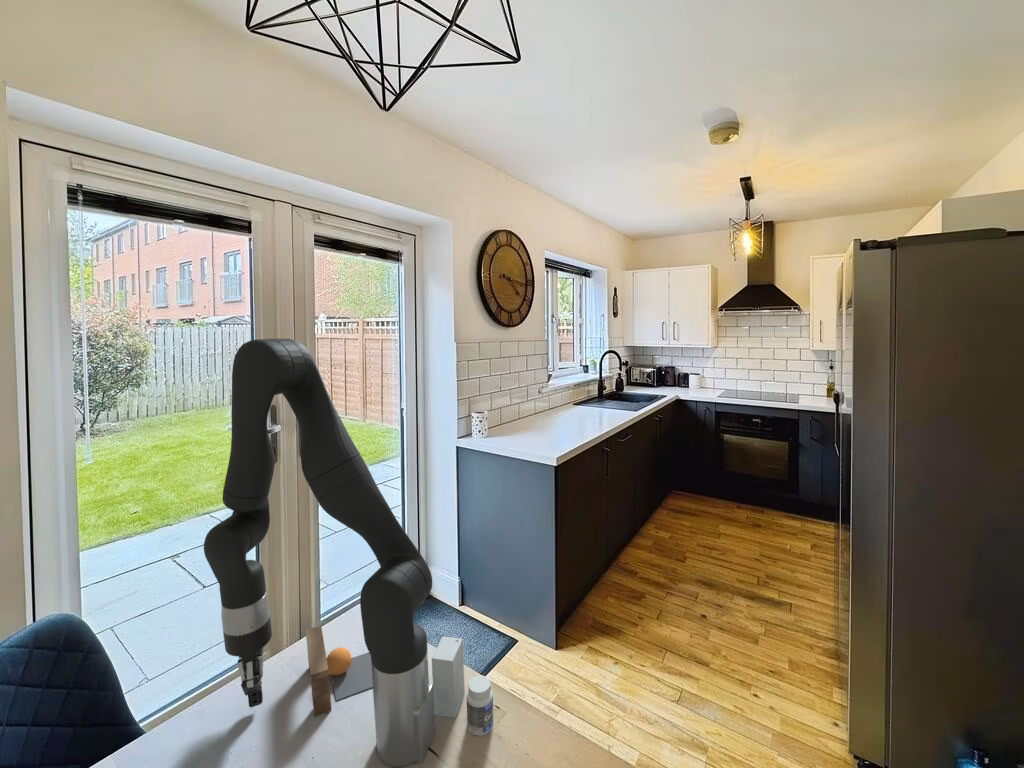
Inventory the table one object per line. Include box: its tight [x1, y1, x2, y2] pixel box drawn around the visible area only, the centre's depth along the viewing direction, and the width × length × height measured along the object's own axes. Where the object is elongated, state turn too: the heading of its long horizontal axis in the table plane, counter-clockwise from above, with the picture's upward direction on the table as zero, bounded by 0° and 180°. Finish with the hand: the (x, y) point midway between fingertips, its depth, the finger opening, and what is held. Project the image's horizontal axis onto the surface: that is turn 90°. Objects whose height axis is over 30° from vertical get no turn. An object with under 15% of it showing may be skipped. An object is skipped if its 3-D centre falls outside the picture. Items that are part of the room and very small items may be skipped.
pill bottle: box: [466, 675, 494, 736], centre depth 82 cm, size 5×5×8 cm
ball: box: [326, 646, 352, 676], centre depth 95 cm, size 5×5×5 cm
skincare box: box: [431, 636, 466, 719], centre depth 87 cm, size 6×4×12 cm
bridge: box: [305, 625, 332, 718], centre depth 91 cm, size 3×14×9 cm, turn 27°
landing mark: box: [331, 651, 373, 702], centre depth 95 cm, size 10×10×1 cm
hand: (256, 702), depth 86 cm, fingers closed
